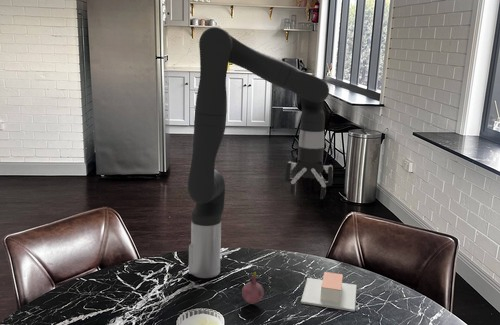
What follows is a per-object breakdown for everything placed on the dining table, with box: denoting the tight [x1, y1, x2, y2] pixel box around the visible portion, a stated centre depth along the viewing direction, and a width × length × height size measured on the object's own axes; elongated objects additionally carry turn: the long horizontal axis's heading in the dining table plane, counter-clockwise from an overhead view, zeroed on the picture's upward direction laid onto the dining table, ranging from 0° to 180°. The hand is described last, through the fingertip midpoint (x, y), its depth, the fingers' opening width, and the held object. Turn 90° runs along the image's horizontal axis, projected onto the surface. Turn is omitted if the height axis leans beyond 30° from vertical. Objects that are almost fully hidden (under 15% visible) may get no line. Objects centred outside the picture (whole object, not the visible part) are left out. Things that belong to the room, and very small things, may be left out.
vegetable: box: [241, 271, 265, 305], centre depth 133 cm, size 6×6×10 cm
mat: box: [300, 277, 358, 312], centre depth 141 cm, size 15×15×1 cm
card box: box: [320, 271, 344, 303], centre depth 141 cm, size 10×6×4 cm, turn 166°
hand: (307, 196), depth 147 cm, fingers open, 8 cm apart
